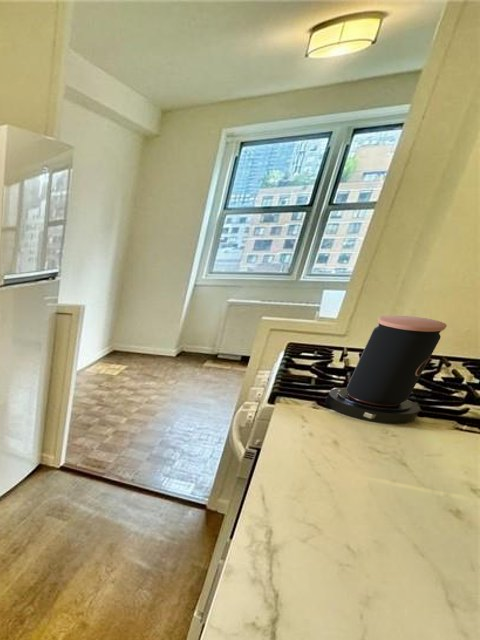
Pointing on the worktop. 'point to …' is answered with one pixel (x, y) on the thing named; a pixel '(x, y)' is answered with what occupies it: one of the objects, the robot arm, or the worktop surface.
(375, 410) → the hot plate
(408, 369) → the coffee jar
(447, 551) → the worktop surface
